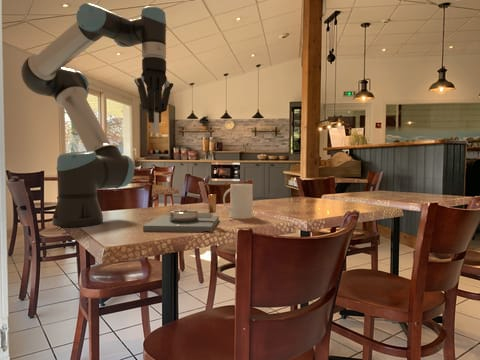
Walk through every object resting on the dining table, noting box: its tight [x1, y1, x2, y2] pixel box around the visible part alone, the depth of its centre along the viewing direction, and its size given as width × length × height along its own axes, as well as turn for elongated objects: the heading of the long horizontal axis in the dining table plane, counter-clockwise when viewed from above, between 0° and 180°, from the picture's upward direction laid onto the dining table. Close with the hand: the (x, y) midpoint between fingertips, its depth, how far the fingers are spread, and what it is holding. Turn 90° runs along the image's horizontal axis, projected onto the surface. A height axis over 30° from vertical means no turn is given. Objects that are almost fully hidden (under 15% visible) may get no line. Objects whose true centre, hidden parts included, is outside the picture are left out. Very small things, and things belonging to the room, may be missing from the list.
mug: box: [222, 183, 254, 220], centre depth 133 cm, size 12×8×12 cm
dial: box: [169, 193, 217, 222], centre depth 116 cm, size 15×9×8 cm, turn 86°
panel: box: [142, 214, 220, 233], centre depth 117 cm, size 20×20×2 cm
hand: (154, 133), depth 119 cm, fingers closed
